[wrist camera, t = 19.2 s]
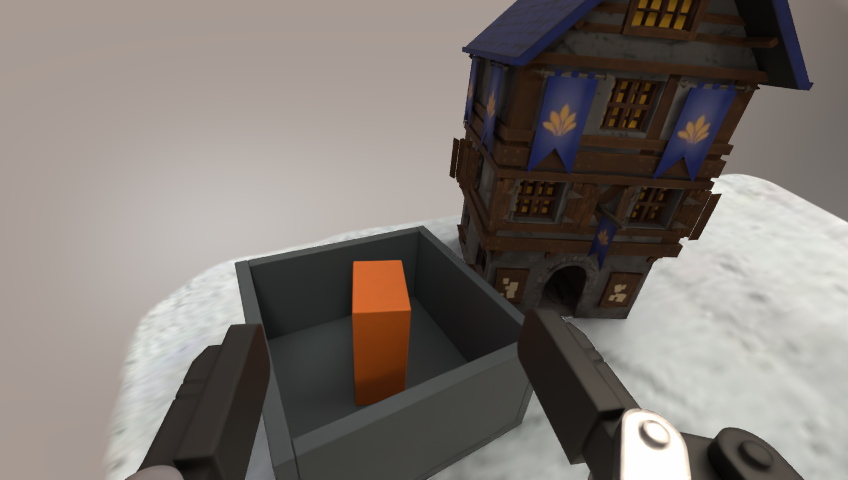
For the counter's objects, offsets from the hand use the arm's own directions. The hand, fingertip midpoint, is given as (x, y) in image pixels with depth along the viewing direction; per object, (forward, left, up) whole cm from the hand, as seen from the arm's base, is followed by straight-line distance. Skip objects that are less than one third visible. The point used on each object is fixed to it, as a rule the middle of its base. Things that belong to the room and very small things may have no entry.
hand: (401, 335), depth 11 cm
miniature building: (-23, -14, -14) cm, 30 cm away
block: (-3, -9, -13) cm, 16 cm away
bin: (-3, -9, -14) cm, 17 cm away
